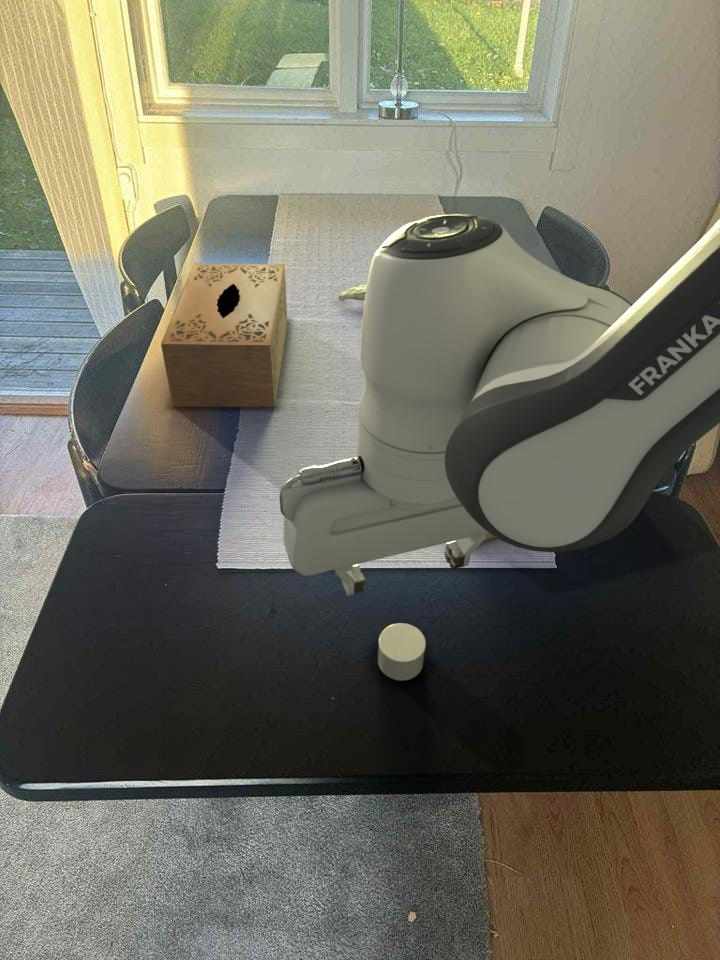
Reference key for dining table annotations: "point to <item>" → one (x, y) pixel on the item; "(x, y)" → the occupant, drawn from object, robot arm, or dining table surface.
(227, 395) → the tissue box cover
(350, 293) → the rock
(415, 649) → the white cylinder
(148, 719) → the dining table surface
